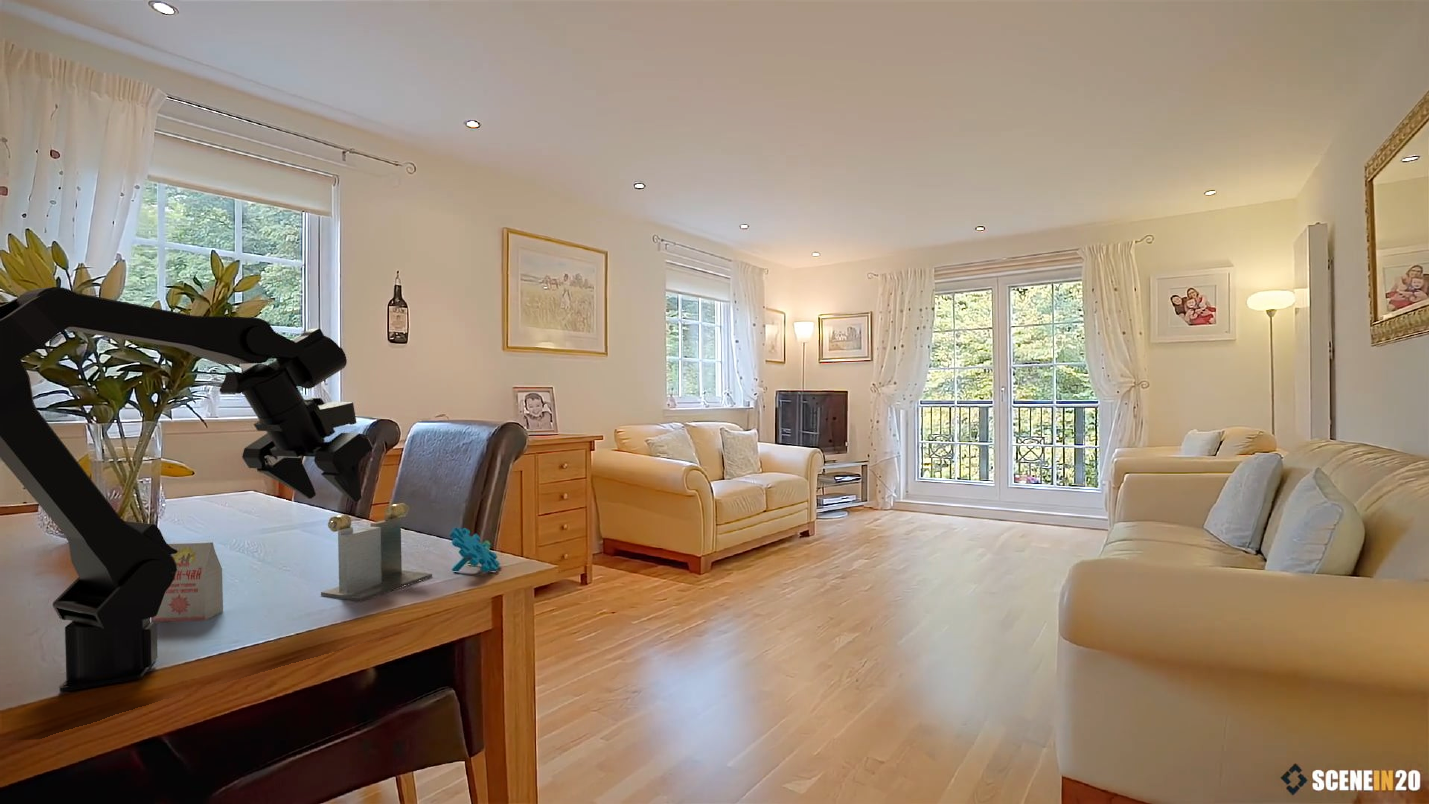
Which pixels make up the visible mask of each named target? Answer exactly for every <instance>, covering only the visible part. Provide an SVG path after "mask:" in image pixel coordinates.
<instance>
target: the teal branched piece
mask: <svg viewBox="0 0 1429 804" xmlns="http://www.w3.org/2000/svg"><path fill="white" fill-rule="evenodd" d="M470 533H471V531H470V530H469V529H468V528H466V527H464V528H461V527H459V526H455V527H454V528H453V529H452V531H451V532H450V533H449V537H451V538H452V541H451V544H452V546H453V547H455V548H458V549H459V551H458V554H459V555H460V556H461V557H462V558H461V559H460V560H459V561H458V562H457V563H456V564H455V565H454V566H453V567H452V568H451V571H452V572H453V571H458V572H459V571H460V570H461V569H462V568H463V567H464V566H465V565H466V564H467V565H468V564H471V566H473V567H474V568H476V567H477V566H478V565H479V564H480V565H481V566H480V567H479V568H480V570H481V572H482V571H483V572H484V573H488V572H490V571H496V570H497V571H498V567H499V566H500V565H501V564H500V563H501V562H499V560H497V559H498V555H497V553H495V552H493V551H491V550H490V549H491V542H490V541H489V540H485V541H484V542H480V540H481V538H482V537H480V535H478V534H477V533H474V534H473V535H472V536H470ZM497 571H496V572H497Z"/></svg>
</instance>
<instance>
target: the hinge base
mask: <svg viewBox="0 0 1429 804" xmlns="http://www.w3.org/2000/svg"><path fill="white" fill-rule="evenodd" d="M409 512H410V506H409V505H407V504H406V503H405V502H402V503H396V504H391V505H390V504H389V505H388V506H386V507H385V509H384V513H385V516H384V519H383V520H380V521H379V520H378V521H374V522H371V523H370V527H381V578H382V583H380V584H377V585H374V586H371V587H368V588H365V589H362V590H359V591H356V592H352V593H349V594H342V593H339V586H336V587H333V588H331V589H326V590H324V591H321V592H320V596H321V597H326V598H328V597H329V598H335V599H340V600H347V601H354V602H363V601H366V600H369V599H372V598H375V597H379V596H381V595H384V594H387V593H389V591H390V592H392V590H393V591H395V590H394V589H396V590H398V589H401V588H403V587H402V586H404V585H407V586H409V585H408V584H410V585H412V584H411V583H413V584H416V583H418V582H417V581H419V580H422V581H424V580H423V579H425V580H427V579H429V578H428V577H430V578H432V577H433V574H432V573H428V572H421V571H413V570H412V571H411V570H403V569H402V567H403V565H402V564H403V563H402V523H401V522H402V520H401V519H402V518H404V517H407V515H408V514H409ZM426 578H427V579H426ZM415 582H416V583H415ZM419 582H420V581H419ZM400 587H401V588H400ZM404 587H405V586H404ZM397 588H398V589H397Z"/></svg>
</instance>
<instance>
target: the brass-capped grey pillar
mask: <svg viewBox="0 0 1429 804" xmlns="http://www.w3.org/2000/svg"><path fill="white" fill-rule="evenodd" d="M327 527H328V529H330V531H331V532H333V533H335V532H337V542H338V543H337V549H338V550H337V551H338V552H337V553H338V557H337V558H338V587H339V593H342V594H349V593H352V592H356V591H359V590H362V589H365V588H368V587H371V586H374V585H377V584H380V583H382V578H381V527H371V526H370V527H366V528H361V529H356V530H354V527H353V526H352V519H351V517H350V516H349V514H341V515H336V516H331V517H330V518H329V520H328V523H327Z"/></svg>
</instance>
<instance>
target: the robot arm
mask: <svg viewBox="0 0 1429 804" xmlns="http://www.w3.org/2000/svg"><path fill="white" fill-rule="evenodd" d="M62 331H69V332H76V333H82V334H90V335H94V336H95V335H96V336H101V337H102V336H103V337H108V338H116V339H122V340H129V341H136V342H141V343H148V344H152V345H153V344H155V345H161V346H168V347H172V348H177V349H180V350H183V351H186V352H187V353H190V354H192V355H194V356H195V357H199V358H202V359H206V360H209V361H211V362H214V363H219V364H222V365H247V364H254V365H252V366H250V367H249V368H247V369H245V370H243V371H241V372H239V371H226V372H225V374H224V380H223V382H222V383H221V386H220V387H219V389H218V390H219V391H218V392H219V393H221V394H222V395H223V394H226V395H227V394H228V395H229V394H230V395H231V394H233V395H234V394H243V395H244V398H245V399H246V401H247V402H248V404H249V405H250V407H251V408H252V410H253V412H254V414H255V415H256V416H257V419H258V421H257V422H255V423H254V424H253V426H254V428H255V429H256V430H257V432H266V434H264V435H263V436H261V437H259V438H257V440H254V441H253V442H252V443H250V444H249V445H247V446H245V447H244V448H243V452H242V460H243V461H244V463H245V464H246V465H247V467H248V469H256V470H257V472H258V473H262V474H264V475H265V476H267V477H269V478H271V479H273V480H275V481H277V482H279V483H280V484H282V485H284V486H286V487H288V488H289V489H291V490H293V491H295V492H296V493H298V494H299V495H302V496H303V497H304V498H306V499H309V500H311V499H313V498H315V496H316V495H317V493H316V491H315V487H314V485H313V483H312V481H311V479H310V477H309V474H308V473H307V470H306V468H305V466H304V464H303V457H307V458H308V457H311V458H312V457H313V458H314V460H313V462H314V463H315V465H316V467H317V468H318V469H319V470H321V471H322V473H320V475H321V476H322V477H323V478H324V479H326V480H327V481H328V482H329V483H330V484H331V485H333V487H335V488H336V489H337V490H339V491H340V493H342V494H343V495H344V496H346V497H347V498H348V499H349V500H350V501H352V502H353V503H358V502H359V501H361V499H362V489H361V479H360V464H361V461H362V460H363V459H364V458H365V457H366V456H367V455H368V453H369V452H371V451H372V450H373V449H374V445H373V444H372V442H371V439H370V438H369V436H368V434H364V433H358V432H357V433H356V432H352V433H351V432H340V433H338V435H337V436H335V437H334V438H332V439H331V440H329V441H326V440H325V439H326V438H327V437H328V438H329V437H331V436H332V435H333V434H336V430H335V428H339V427H342V426H347V425H350V426H353V425H356V424H357V423H358V422H357V418H356V411H355V405H354V402H353V401H330V402H324V400H323V399H322V398H321V397H310V398H304V397H303V395H302V393H301V391H300V390H299V388H303V389H306V390H311V389H313V388H315V387H316V386H318V385H319V384H322V382H324V381H326V380H327V379H329V378H331V377H332V376H334V375H335V374H337V373H339V372H340V371H341V370H344V369H345V368H346V366H347V365H348V364H347V362H348V360H347V356H346V353H345V351H344V349H343V348H342V347H341V346H339V344H338V343H336V341H334V340H333V339H332V338H330V337H328V336H326V335H325V334H324V332H323V330H322V329H321V328H310V329H307V330H306V331H303V332H302V333H301V334H300V335H299V336H297V337H296V338H294V339H290V338H287V337H285V336H284V335H281V334H280V333H278V332H276V331H275V330H274V329H273V328H272V326H271V323H270V322H269V321H267V320H265V319H262V318H260V317H253V316H251V317H248V316H219V315H218V316H213V315H211V316H207V315H206V316H205V315H192V314H187V313H182V312H176V311H172V310H167V309H162V308H155V307H150V306H146V305H142V304H137V303H130V302H126V301H121V300H115V299H111V298H105V297H101V296H94V295H90V294H85V293H80V292H78V291H77V292H76V291H73V290H72V289H69V288H67V287H60V286H52V287H51V286H50V287H43V288H42V287H41V288H34V289H31V290H27V291H25V292H23V293H22V294H20V295H19V296H18V297H16V298H14V299H12V300H10V301H8V302H6V303H3V304H1V305H0V460H1V461H2V462H3V463H4V464H5V465H6V467H7V468H8V469H9V470H10V471H11V472H12V474H13V475H14V476H15V477H16V479H17V480H18V481H19V482H20V484H21V485H22V486H23V487H24V488H25V490H26V491H27V492H28V493H29V494H30V496H31V497H32V498H33V499H34V501H36V502H37V503H38V505H39V506H40V508H42V510H43V511H44V513H46V514H47V516H48V517H49V518H50V519H51V521H52V522H53V523H54V524H55V526H56V527H57V528H58V529H59V530H60V531H61V533H62V534H63V535H64V536H65V538H66V540H67V543H68V547H69V555H70V560H71V564H72V566H73V568H74V569H75V572H76V574H77V576H78V577H77V578H76V579H75V580H74V581H73V582H72V583H71V584H70V585H69V586H68V587H67V588H66V589H65V590H64V591H63V592H62V593H61V594H60V595H59V596H58V597H57V598H56V599H55V600H54V601H53V602H52V607H53V609H54V611H55V612H56V614H57V616H58V618H59V619H60V620H63V621H70V622H69V623H68V624H67V625H65V627H64V643H65V644H64V645H65V646H64V647H65V674H66V675H65V679H66V680H65V681H64V682H63V683H61V685H59V686H58V688H59V689H58V691H59V692H62V693H63V692H68V691H69V692H70V691H73V690H74V691H75V690H81V689H86V688H93V687H98V686H99V687H100V686H105V685H110V684H118V683H123V682H129V681H135V680H139V679H141V678H143V677H144V675H145V674H146V673H147V671H148V670H149V669H150V667H152V665H153V664H154V662H156V660H157V658H158V657H159V656H158V627H157V626H158V625H157V624H158V623H156V622H151V617H155V616H156V615H157V614H158V611H159V608H160V605H161V603H162V600H163V597H164V594H165V592H166V590H167V589H168V588H169V587H170V585H171V583H172V582H173V580H174V577H175V573H176V572H177V570H178V569H177V564H176V562H175V560H174V558H173V557H172V555H171V554H176V553H177V552H178V551H177V550H175V549H173V548H171V547H170V546H169V545H168V544H167V542H166V540H165V538H164V536H163V534H162V531H161V530H160V528H159V527H158V526H157V524H155V523H147V522H140V521H139V522H138V521H129V520H124V518H121V517H120V515H119V514H118V513H117V511H116V510H115V509H114V507H113V506H112V505H111V504H110V502H109V500H108V499H107V498H106V497H105V495H103V492H102V491H101V490H100V489H99V488H98V486H97V485H96V484H95V483H94V481H93V480H92V479H91V478H90V476H89V475H88V473H86V472H87V471H85V469H84V468H83V467H82V466H81V464H80V463H79V462H78V461H77V460H76V458H75V456H74V455H73V454H72V453H71V451H70V450H69V449H68V448H67V446H66V445H65V443H64V442H63V441H62V440H61V439H60V437H59V436H58V435H57V433H56V432H55V431H54V430H53V429H52V427H51V425H50V424H49V422H47V420H46V419H45V418H44V416H43V415H42V413H41V412H40V410H38V408H37V406H36V404H35V400H34V396H33V389H32V384H31V383H32V382H31V377H30V375H29V373H28V370H27V368H26V366H25V364H24V363H23V358H25V357H27V356H28V355H30V354H32V353H34V352H35V351H37V350H39V349H41V348H42V347H44V345H46V344H47V343H48V342H50V341H51V340H52V339H54V338H55V337H56V336H58V335H59V334H60V333H61V332H62ZM270 359H271V360H272V359H273V361H272V362H270V363H269V364H264V363H266V362H267V361H268V360H270ZM298 387H299V388H298Z"/></svg>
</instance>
